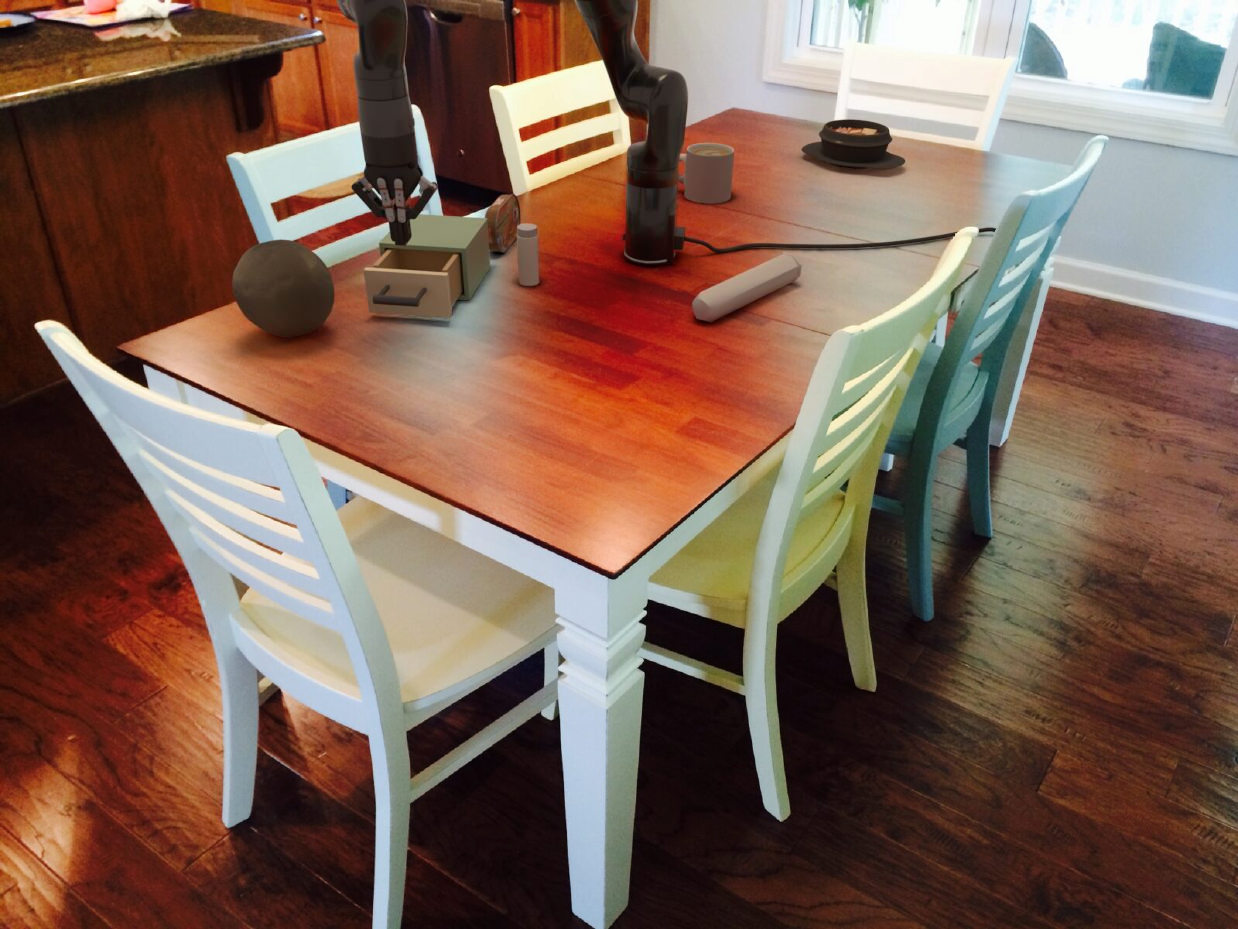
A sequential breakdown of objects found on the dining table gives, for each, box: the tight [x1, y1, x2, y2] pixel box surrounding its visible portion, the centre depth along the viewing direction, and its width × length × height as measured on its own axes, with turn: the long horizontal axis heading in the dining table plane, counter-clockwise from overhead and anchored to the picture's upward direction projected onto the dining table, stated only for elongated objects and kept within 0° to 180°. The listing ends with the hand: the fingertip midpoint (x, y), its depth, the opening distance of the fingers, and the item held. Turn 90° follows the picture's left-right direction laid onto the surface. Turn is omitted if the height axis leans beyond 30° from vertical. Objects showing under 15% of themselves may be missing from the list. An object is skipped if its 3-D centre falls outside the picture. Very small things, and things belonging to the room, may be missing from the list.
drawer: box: [363, 248, 464, 319], centre depth 159 cm, size 19×13×7 cm
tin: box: [484, 193, 522, 254], centre depth 185 cm, size 15×3×8 cm, turn 168°
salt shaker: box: [516, 222, 540, 287], centre depth 169 cm, size 4×4×10 cm
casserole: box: [800, 118, 906, 171], centre depth 233 cm, size 25×19×8 cm
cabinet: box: [378, 213, 491, 301], centre depth 170 cm, size 15×15×9 cm
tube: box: [691, 251, 803, 323], centre depth 165 cm, size 5×5×25 cm
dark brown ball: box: [231, 239, 336, 338], centre depth 149 cm, size 14×14×15 cm
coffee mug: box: [678, 142, 735, 205], centre depth 211 cm, size 13×10×10 cm
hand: (402, 243), depth 149 cm, fingers closed
